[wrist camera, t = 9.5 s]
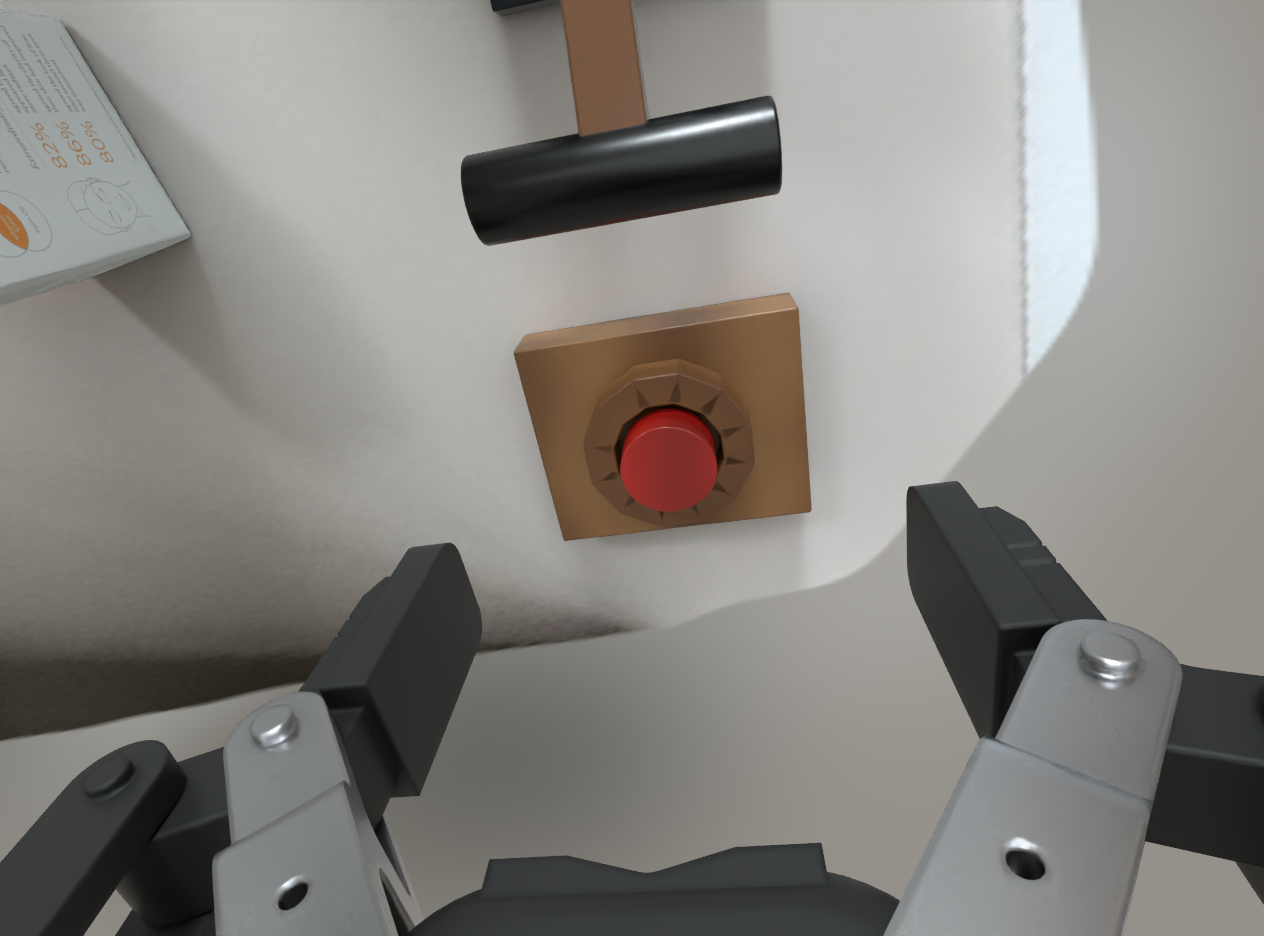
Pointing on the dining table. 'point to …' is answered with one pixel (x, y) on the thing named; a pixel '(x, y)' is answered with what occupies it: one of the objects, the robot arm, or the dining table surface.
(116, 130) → the small box
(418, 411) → the dining table surface
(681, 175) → the lever
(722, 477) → the button block
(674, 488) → the button
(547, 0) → the bracket
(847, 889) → the robot arm
